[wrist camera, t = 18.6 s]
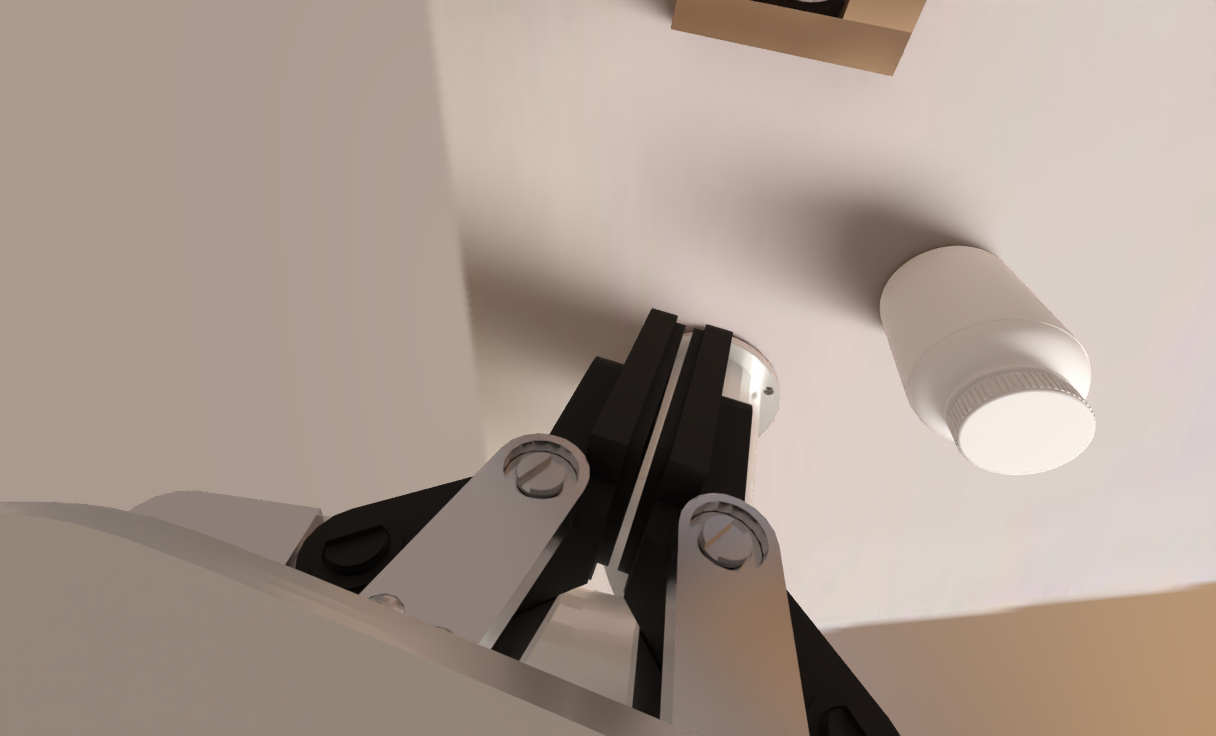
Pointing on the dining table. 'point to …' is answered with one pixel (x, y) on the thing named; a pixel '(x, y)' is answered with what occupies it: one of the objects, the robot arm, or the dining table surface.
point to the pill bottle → (987, 362)
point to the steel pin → (811, 0)
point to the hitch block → (809, 29)
